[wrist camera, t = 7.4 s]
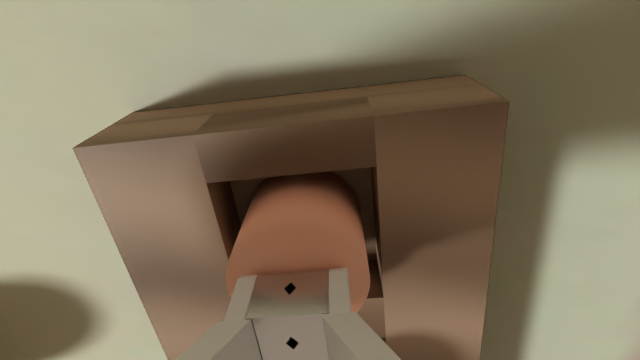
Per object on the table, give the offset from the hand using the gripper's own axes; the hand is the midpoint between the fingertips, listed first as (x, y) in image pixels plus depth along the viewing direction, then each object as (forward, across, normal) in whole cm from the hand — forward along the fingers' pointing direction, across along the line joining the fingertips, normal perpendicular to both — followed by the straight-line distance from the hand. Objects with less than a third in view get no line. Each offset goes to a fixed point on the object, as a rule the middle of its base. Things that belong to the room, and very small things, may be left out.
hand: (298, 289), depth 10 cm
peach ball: (+4, 0, 0) cm, 4 cm away
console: (+5, 0, +7) cm, 9 cm away
